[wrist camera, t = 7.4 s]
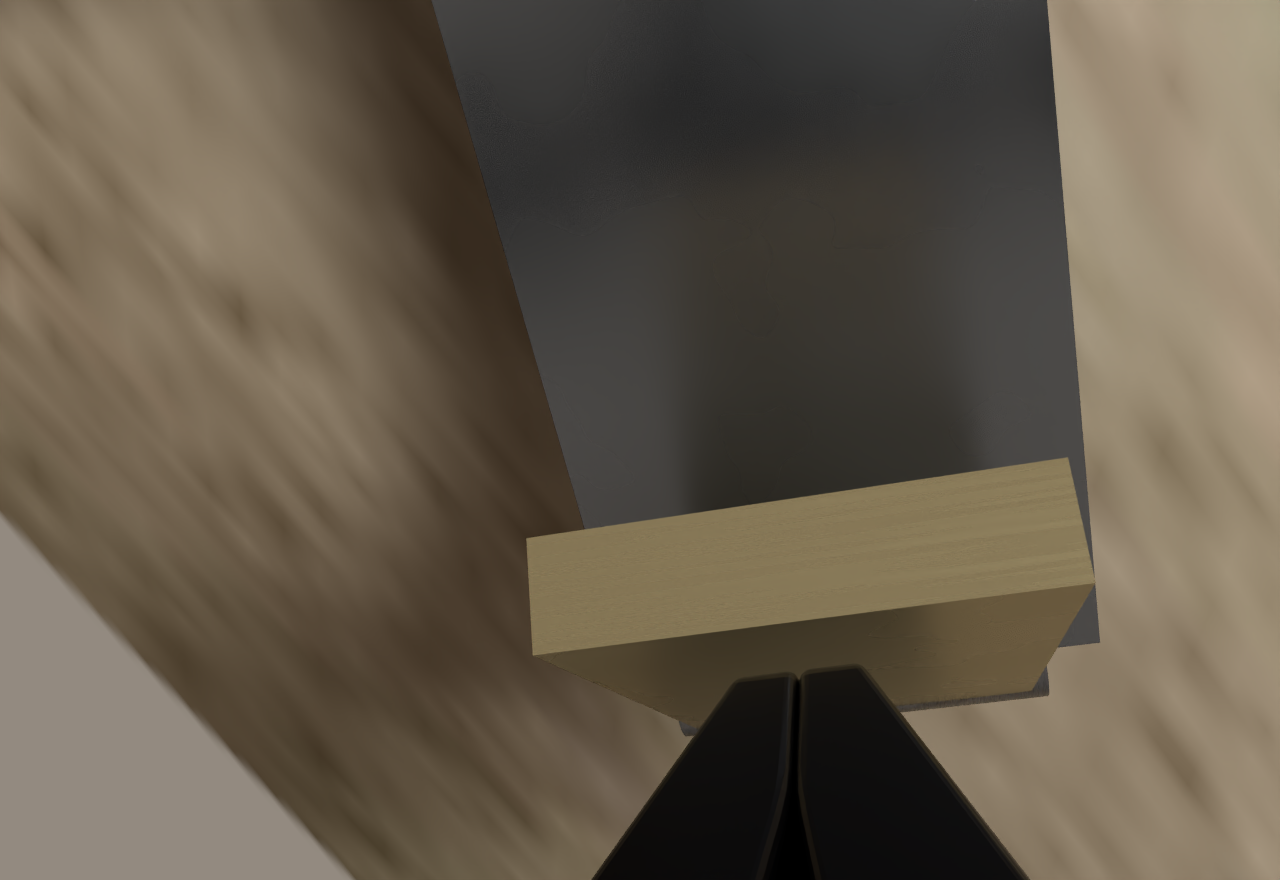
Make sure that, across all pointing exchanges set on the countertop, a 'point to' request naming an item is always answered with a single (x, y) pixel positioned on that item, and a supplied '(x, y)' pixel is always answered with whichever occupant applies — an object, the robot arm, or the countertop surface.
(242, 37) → the countertop surface
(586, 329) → the drawbar block
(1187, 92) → the countertop surface
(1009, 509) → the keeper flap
